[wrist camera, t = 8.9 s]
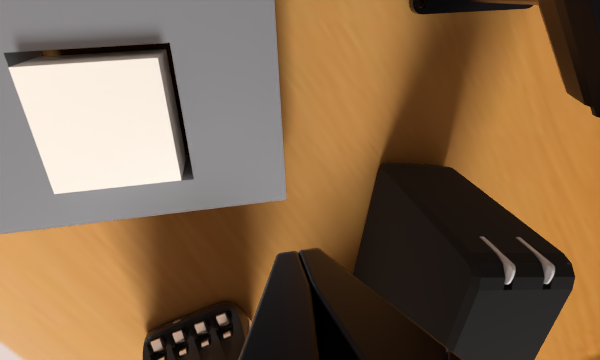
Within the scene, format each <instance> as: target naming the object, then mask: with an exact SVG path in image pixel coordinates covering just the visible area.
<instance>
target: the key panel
mask: <svg viewBox="0 0 600 360" xmlns="http://www.w3.org/2000/svg"><path fill="white" fill-rule="evenodd" d="M159 43H170V47H171V53H172V58H173V64H174V70H175V75H176V81H177V87H178V92H179V98H180V104H181V109H182V115H183V120H184V126H185V132H186V137H187V143H188V149H189V154H190V155H187V156H186V162H185V166H184V171H183V176H182V180H181V181H172V182H162V183H153V184H144V185H135V186H126V187H117V188H107V189H98V190H89V191H80V192H71V193H62V194H54V192H53V189H52V187H51V184H50V181H49V178H48V176H47V173H46V170H45V167H44V165H43V162H42V159H41V156H40V153H39V151H38V148H37V145H36V142H35V140H34V137H33V134H32V131H31V129H30V126H29V123H28V120H27V118H26V115H25V112H24V109H23V107H22V104H21V101H20V98H19V96H18V93H17V90H16V87H15V85H14V82H13V79H12V76H11V74H10V71H9V68H8V67H11V66H14V65H17V64H19V63H22V62H25V61H28V60H31V59H33V58H36V57H43V56H42V53H41V51H42V50H59V49H75V48H92V47H109V46H125V45H142V44H159ZM280 200H287V199H286V183H285V166H284V150H283V134H282V117H281V101H280V84H279V68H278V52H277V35H276V19H275V2H274V0H0V234H6V233H14V232H23V231H31V230H39V229H48V228H56V227H64V226H72V225H81V224H89V223H97V222H106V221H114V220H122V219H131V218H139V217H147V216H155V215H164V214H172V213H180V212H189V211H197V210H205V209H213V208H222V207H230V206H238V205H247V204H255V203H263V202H272V201H280Z"/></svg>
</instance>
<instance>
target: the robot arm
mask: <svg viewBox="0 0 600 360" xmlns="http://www.w3.org/2000/svg"><path fill="white" fill-rule="evenodd" d="M418 1H419V0H409V6H410V9H411V11H412V12H414V13H416V14H436V13H454V12H473V11H491V10H509V9H527V8H530V7H532V6H533V5H538V6H539V9H540V12H541V15H542V18H543V21H544V25H545V28H546V31H547V34H548V37H549V41H550V44H551V47H552V50H553V53H554V56H555V60H556V63H557V66H558V69H559V72H560V76H561V79H562V81H563V84H564V86H565V89H566V92H567V93H568V94H569V95H571V96H572V97H574V98H575V99H577V100H578V101H580V102H581V103H583V104H584V105H587V106H589V107H591V111H592V114H593V115H594V116H596V117H600V0H424V5H423V6H422V7H421V8H419V6H418ZM238 360H462V359H461V358H460V357H459V356H457V355H456V354H455V353H453V352H452V351H448V353H447V347H445V346H444V345H443V344H442V343H440V342H439V341H438V340H436V339H435V338H434V337H433V336H431V335H430V334H429V333H427V332H426V331H425V330H424V329H422V328H421V327H420V326H418V325H417V324H416V323H415V322H413V321H412V320H411V319H409V318H408V317H407V316H406V315H404V314H403V313H402V312H400V311H399V310H398V309H397V308H395V307H394V306H393V305H391V304H390V303H389V302H388V301H386V300H385V299H384V298H382V297H381V296H380V295H379V294H377V293H376V292H375V291H373V290H372V289H371V288H370V287H368V286H367V285H366V284H364V283H363V282H362V281H361V280H359V279H358V278H357V277H355V276H354V275H353V274H352V273H350V272H349V271H348V270H346V269H345V268H344V267H343V266H341V265H340V264H339V263H337V262H336V261H335V260H334V259H332V258H331V257H330V256H328V255H327V254H326V253H325V252H323V251H322V250H321V249H319V248H312V249H305V250H300V251H299V253H298V252H296V251H291V252H283V253H279V254H278V255H277V256H276V259H275V262H274V264H273V267H272V270H271V272H270V275H269V278H268V281H267V283H266V286H265V289H264V291H263V294H262V297H261V300H260V302H259V305H258V308H257V310H256V313H255V316H254V319H253V321H252V324H251V327H250V329H249V332H248V335H247V338H246V340H245V343H244V346H243V349H242V351H241V354H240V357H239V359H238Z"/></svg>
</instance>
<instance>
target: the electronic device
mask: <svg viewBox="0 0 600 360" xmlns="http://www.w3.org/2000/svg"><path fill="white" fill-rule="evenodd" d="M353 275H354V276H355V277H357V278H358V279H359V280H361V281H362V282H363V283H364V284H366V285H367V286H368V287H370V288H371V289H372V290H373V291H375V292H376V293H377V294H379V295H380V296H381V297H382V298H384V299H385V300H386V301H388V302H389V303H390V304H391V305H393V306H394V307H395V308H397V309H398V310H399V311H400V312H402V313H403V314H404V315H406V316H407V317H408V318H409V319H411V320H412V321H413V322H415V323H416V324H417V325H418V326H420V327H421V328H422V329H424V330H425V331H426V332H427V333H429V334H430V335H431V336H433V337H434V338H435V339H436V340H438V341H439V342H440V343H442V344H443V345H444V346H445V347H447V353H448V351H452V352H453V353H455V354H456V355H457V356H459V357H460V358H461V359H462V360H534V359H535V357H536V356H537V354H538V352H539V350H540V348H541V346H542V345H543V343H544V341H545V339H546V337H547V335H548V333H549V332H550V330H551V328H552V326H553V324H554V322H555V320H556V319H557V317H558V315H559V313H560V311H561V309H562V308H563V306H564V304H565V302H566V300H567V298H568V296H569V295H570V293H571V291H572V289H573V284H574V280H575V275H574V271H573V267H572V263H571V262H570V261H569V260H568V259H567V257H566V256H565V255H564V254H563V253H562V252H561V251H560V250H558V249H557V248H556V247H554V246H553V245H552V244H550V243H549V242H548V241H547V240H545V239H544V238H543V237H541V236H540V235H539V234H537V233H536V232H535V231H534V230H532V229H531V228H530V227H528V226H527V225H526V224H524V223H523V222H522V221H521V220H519V219H518V218H517V217H515V216H514V215H513V214H511V213H510V212H509V211H508V210H506V209H505V208H504V207H502V206H501V205H500V204H498V203H497V202H496V201H495V200H493V199H492V198H491V197H489V196H488V195H487V194H485V193H484V192H483V191H482V190H480V189H479V188H478V187H476V186H475V185H474V184H472V183H471V182H470V181H469V180H467V179H466V178H465V177H463V176H462V175H461V174H459V173H458V172H457V171H456V170H454V169H453V168H450V167H443V166H427V165H410V164H394V163H383V164H382V165H381V166H380V168H379V171H378V174H377V178H376V182H375V186H374V190H373V194H372V199H371V203H370V207H369V211H368V215H367V219H366V224H365V228H364V232H363V236H362V240H361V244H360V249H359V253H358V257H357V261H356V265H355V269H354V274H353Z"/></svg>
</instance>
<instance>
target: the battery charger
mask: <svg viewBox="0 0 600 360" xmlns="http://www.w3.org/2000/svg"><path fill="white" fill-rule="evenodd" d="M251 324H252V322H251V320H250V319H249V318H248V317H247V316H246V314H245V313H244V311H243V310H241V308H240V307H238V306H237V305H235V304H233V303H230V302H223V303H218V304H215V305H212V306H210V307H207V308H204V309H202V310H199V311H196V312H194V313H191V314H188V315H186V316H183V317H181V318H179V319H176V320H174V321H171V322H169V323H166V324H164V325H162V326H159V327H157V328H155V329H154V330H152V331H150V332H149V333H148V334H147V336H146V338H145V342H144V347H143V360H238V359H239V357H240V354H241V351H242V349H243V346H244V343H245V340H246V338H247V335H248V332H249V329H250V327H251Z"/></svg>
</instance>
